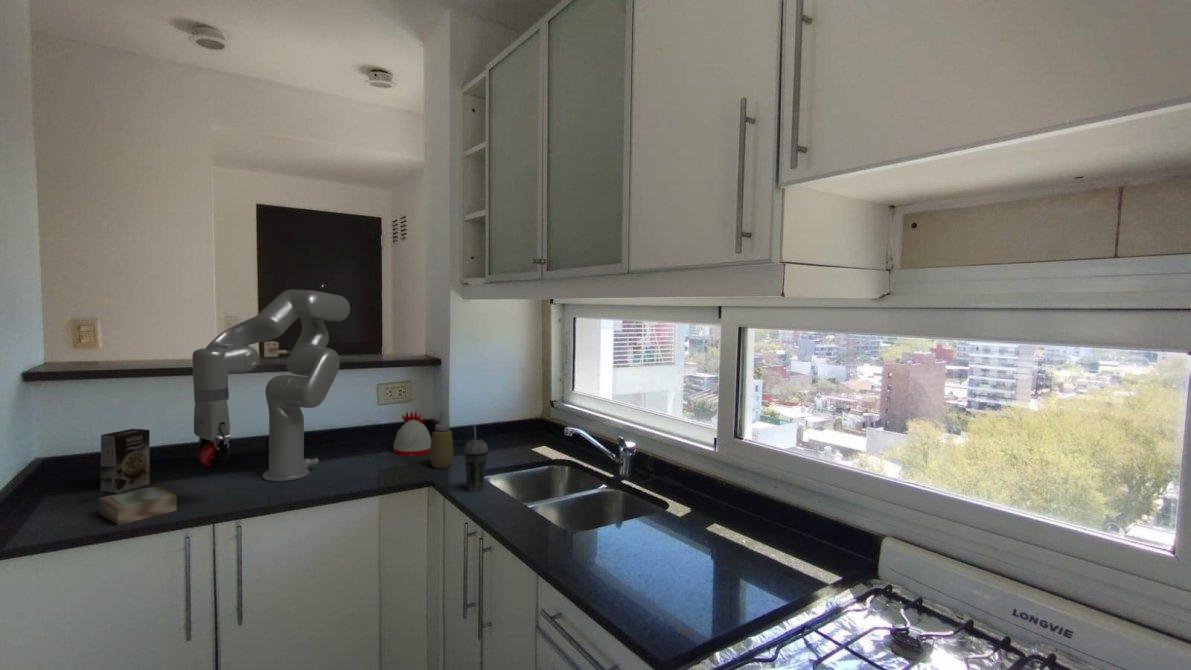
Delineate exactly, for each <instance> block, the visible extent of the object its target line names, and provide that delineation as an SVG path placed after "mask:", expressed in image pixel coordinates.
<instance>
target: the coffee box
mask: <svg viewBox="0 0 1191 670" xmlns="http://www.w3.org/2000/svg"><path fill="white" fill-rule="evenodd" d="M147 485H150V429H141V428H130V429H123V430H121V431H115V432H108V433H104V434H100V492H105V493H110V494H121V493H125V492H129V491H132V490H134V489H137V488H141V487H144V486H147Z"/></svg>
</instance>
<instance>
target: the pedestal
mask: <svg viewBox="0 0 1191 670" xmlns="http://www.w3.org/2000/svg"><path fill="white" fill-rule="evenodd" d="M177 497H178V495H177V494H175V493H173V492H171V491H168V490H166V489H164V488H162V487H160V486H158V485H154V486H150V487H145V488H140V489H136V490H129V491H124V492H121V493H115V494H112V495H108V496H102V497H99V498H98V501H99V505H98V507H99V508H98V509H99V512H98V513H99V514H100V516H102V517H104V518H106V519H107V520H109V521H111V522H112V523H114V524H115V525H117V526H120V525H124V524H128V523H133V522H136V521H139V520H145V519H148V518H151V517H157V516H160V515H164V514H168V513H172V512H177V509H178V508H177V507H178V506H177V505H178V504H177V503H178V502H177V501H178V500H177Z"/></svg>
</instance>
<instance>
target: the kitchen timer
mask: <svg viewBox="0 0 1191 670" xmlns="http://www.w3.org/2000/svg"><path fill="white" fill-rule="evenodd" d="M413 414H414V415H413ZM421 415H422V414H419V415H418V413H417V411H415V413H413V411H411V412H410V415H409V412H408V411H406V412H405V416H404V415H403V414H401V418H402V419H403V422H404V424H403V425H402V426H401V427H400V428H399V429H398V431H396V435H395V439H394V442H393V446H392V447H393V450H392V451H393V454H395V455H398V456H405V457H413V456H416V457H417V456H423V455H427V454H430V447H431V439H432V436H431V434H430V432H429V429H428V428H427V427H426V425H425V424H424V420H425V418H426V417H423V418H422V420H421ZM427 450H428V451H427Z"/></svg>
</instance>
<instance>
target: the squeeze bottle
mask: <svg viewBox="0 0 1191 670" xmlns="http://www.w3.org/2000/svg"><path fill="white" fill-rule="evenodd" d="M434 426H435V427H434V431H432V433H431V447H430V453H429V457H428V458H429V461H430V463H431V466H432V468H435V469H446V468H449V467H451V464H452V462H453V459H454V454H455V453H454V444H453V442H454V441H453V431H451V430H450V424H448V423H447V421H446V416H445V414H444V413H441V414H440V417H439V420H438V423H437V424H435V425H434Z"/></svg>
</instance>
